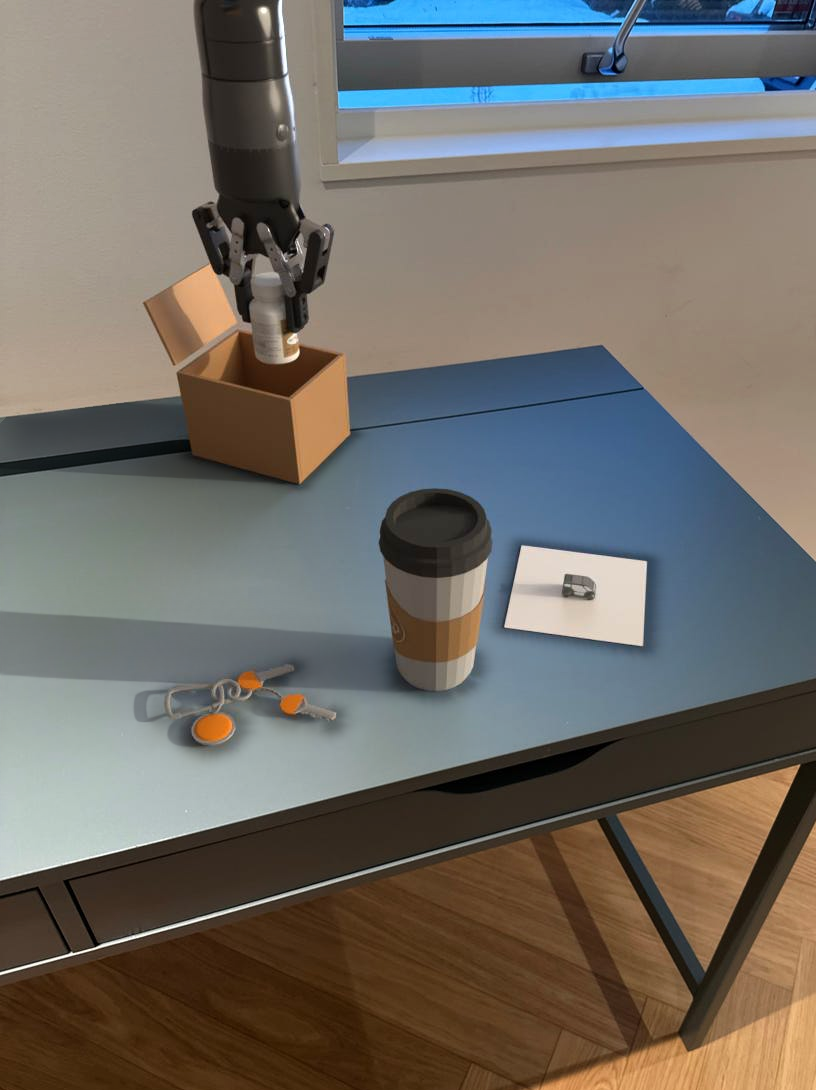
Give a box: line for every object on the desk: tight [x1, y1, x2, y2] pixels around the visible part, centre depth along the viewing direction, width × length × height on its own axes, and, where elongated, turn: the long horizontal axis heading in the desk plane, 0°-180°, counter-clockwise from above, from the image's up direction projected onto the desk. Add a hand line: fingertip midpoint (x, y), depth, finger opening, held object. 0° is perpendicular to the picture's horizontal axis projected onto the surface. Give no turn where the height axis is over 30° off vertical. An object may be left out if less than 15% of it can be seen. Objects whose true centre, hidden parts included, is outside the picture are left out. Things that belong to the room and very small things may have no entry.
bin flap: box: [142, 262, 238, 367], centre depth 94 cm, size 6×11×1 cm
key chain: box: [163, 663, 337, 746], centre depth 73 cm, size 13×7×1 cm, turn 105°
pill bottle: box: [249, 271, 300, 364], centre depth 91 cm, size 4×4×8 cm
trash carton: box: [175, 328, 351, 485], centre depth 98 cm, size 13×11×10 cm
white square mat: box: [503, 544, 648, 647], centre depth 84 cm, size 12×12×2 cm
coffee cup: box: [378, 487, 493, 692], centre depth 72 cm, size 8×8×15 cm
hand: (273, 324), depth 91 cm, fingers closed on pill bottle, 4 cm apart
